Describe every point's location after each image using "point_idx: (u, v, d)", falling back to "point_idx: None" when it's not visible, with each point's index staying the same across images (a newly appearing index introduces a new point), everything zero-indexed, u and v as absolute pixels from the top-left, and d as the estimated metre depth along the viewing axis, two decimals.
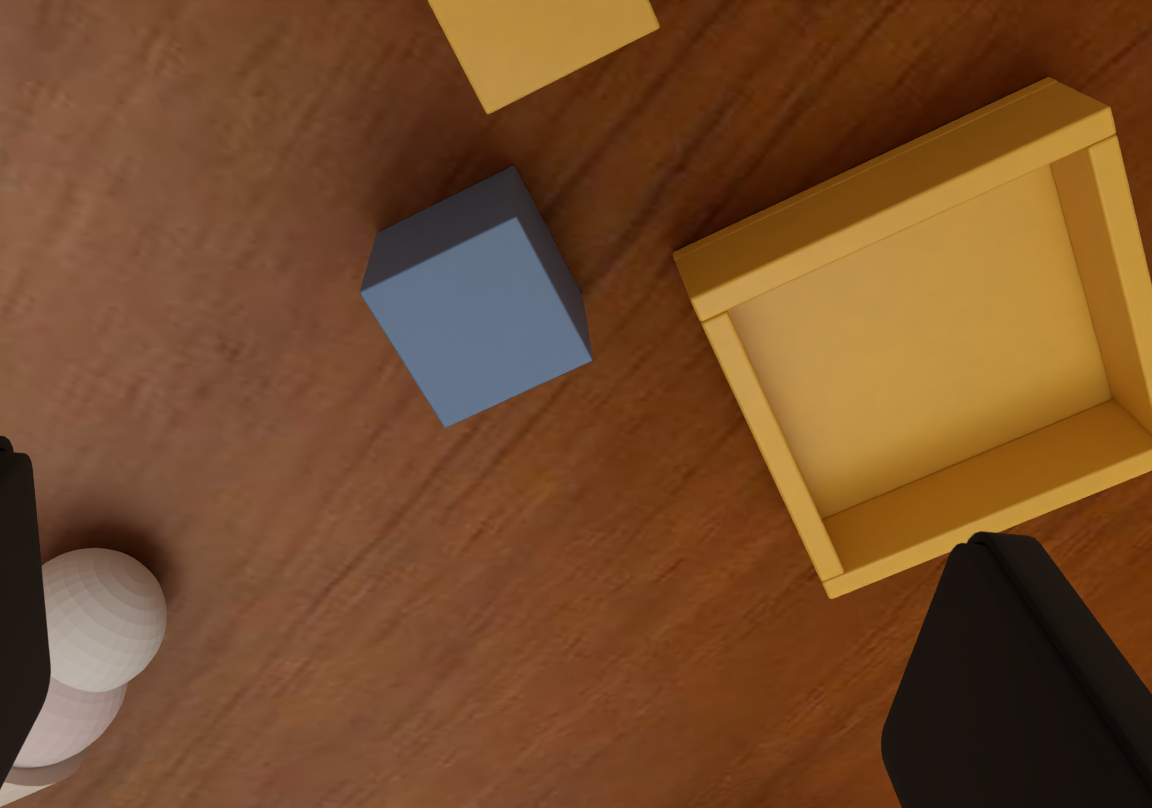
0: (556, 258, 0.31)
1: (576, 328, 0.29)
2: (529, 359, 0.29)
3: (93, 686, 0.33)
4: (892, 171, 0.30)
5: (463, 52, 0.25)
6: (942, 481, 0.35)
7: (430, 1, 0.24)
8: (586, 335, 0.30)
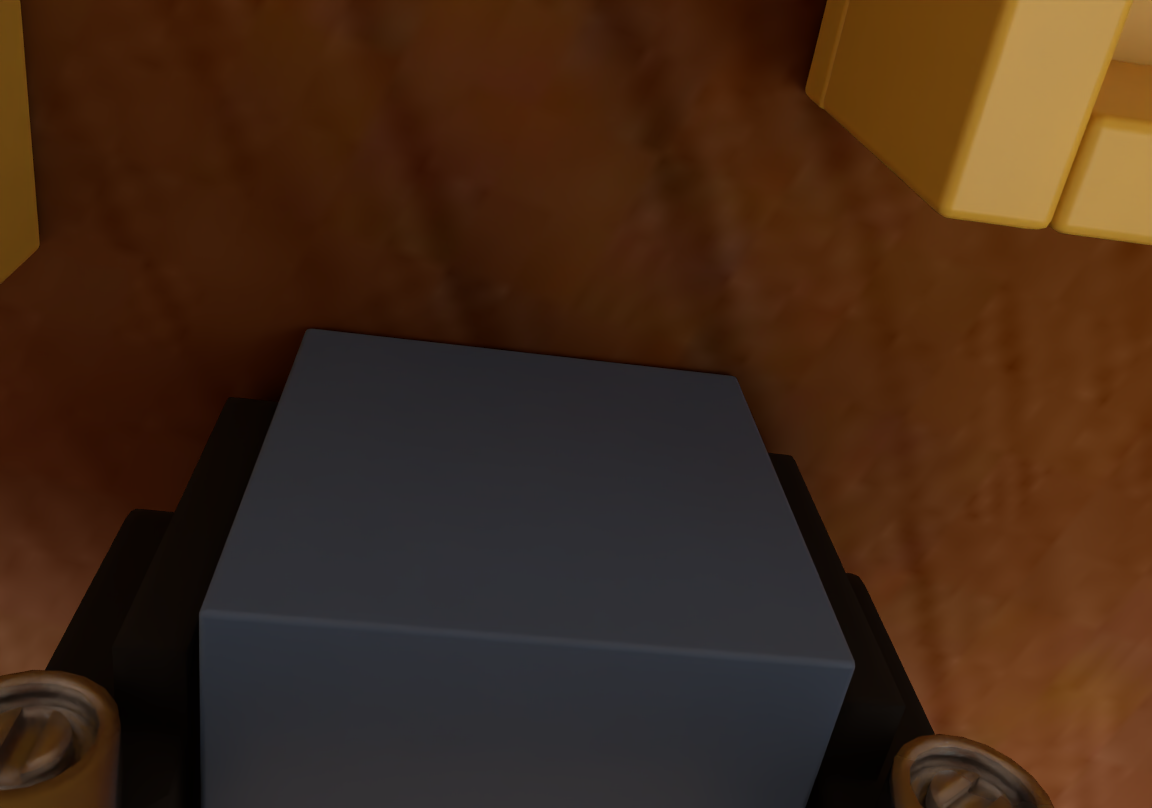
0: (562, 422, 0.10)
1: (714, 647, 0.08)
2: None
3: None
4: None
5: None
6: None
7: None
8: (785, 569, 0.09)
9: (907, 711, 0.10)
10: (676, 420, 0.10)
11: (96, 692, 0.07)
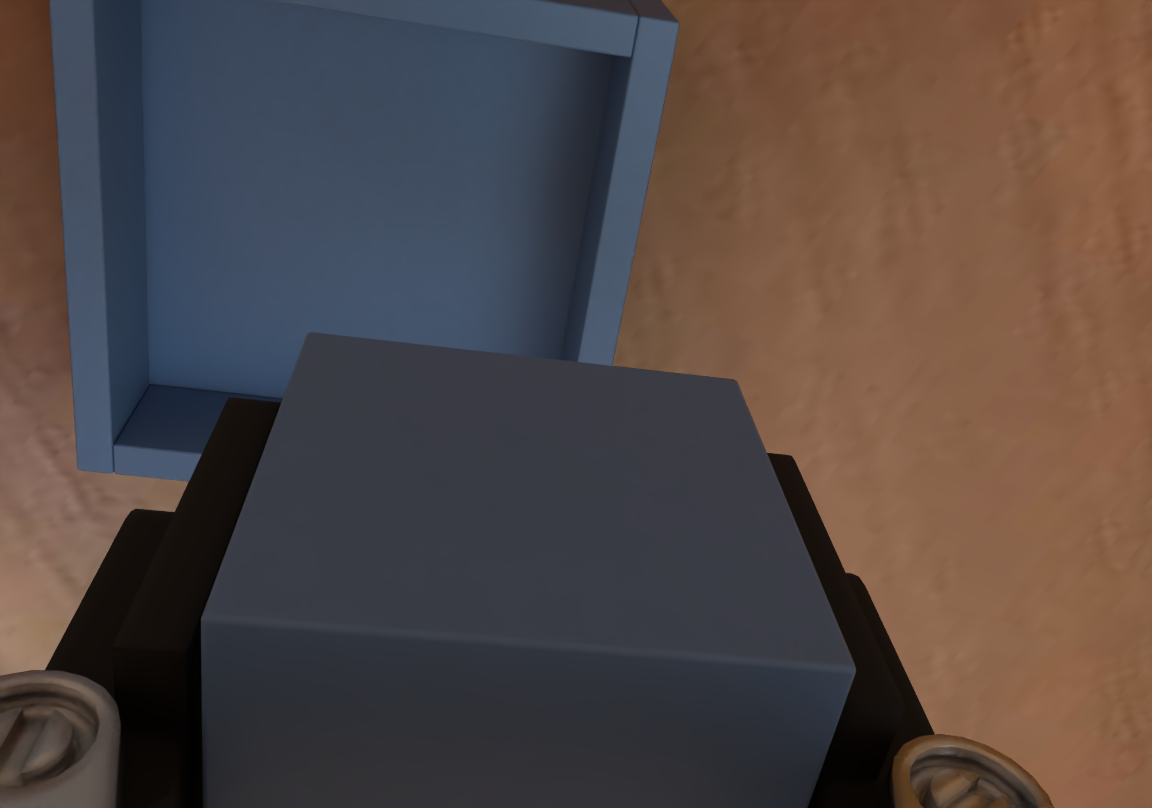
0: (563, 426, 0.10)
1: (715, 651, 0.08)
2: None
3: None
4: None
5: None
6: None
7: None
8: (785, 573, 0.09)
9: (907, 711, 0.10)
10: (677, 424, 0.10)
11: (96, 692, 0.07)
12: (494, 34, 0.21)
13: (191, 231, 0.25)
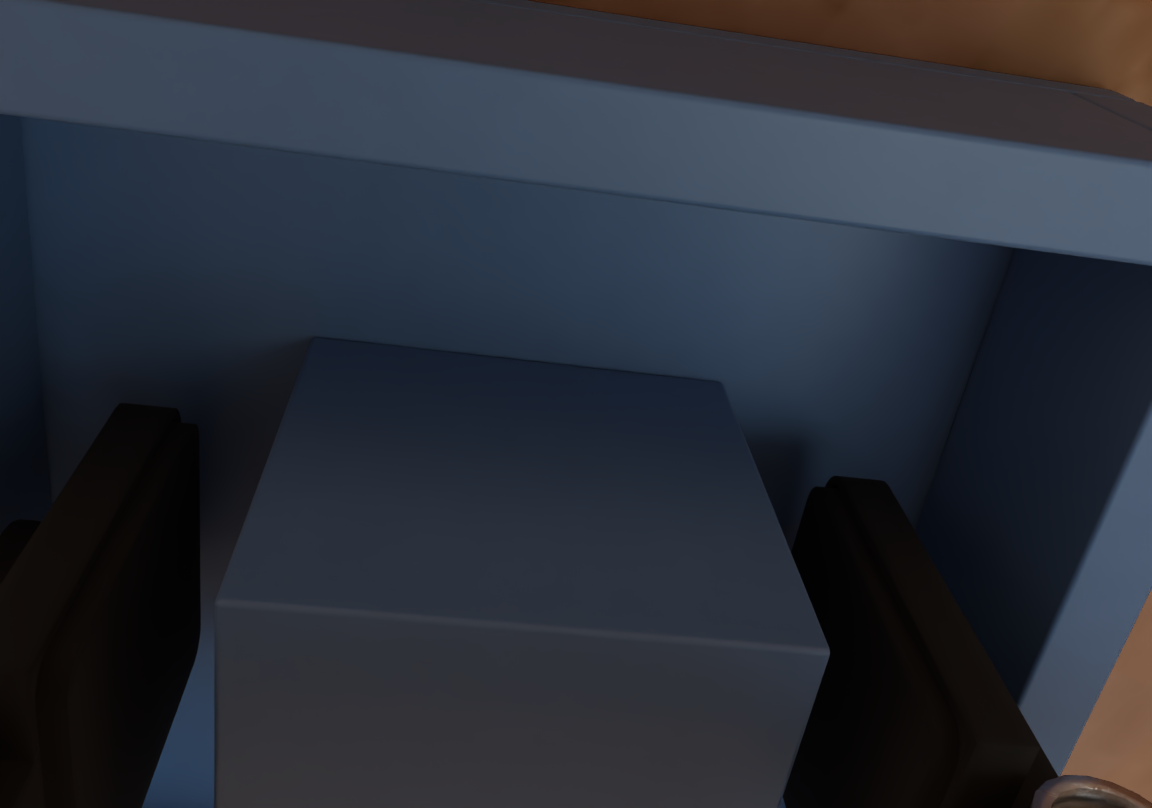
0: (556, 426, 0.11)
1: (697, 635, 0.08)
2: (687, 790, 0.09)
3: None
4: None
5: None
6: None
7: None
8: (765, 564, 0.09)
9: None
10: (665, 424, 0.11)
11: None
12: (885, 226, 0.08)
13: None
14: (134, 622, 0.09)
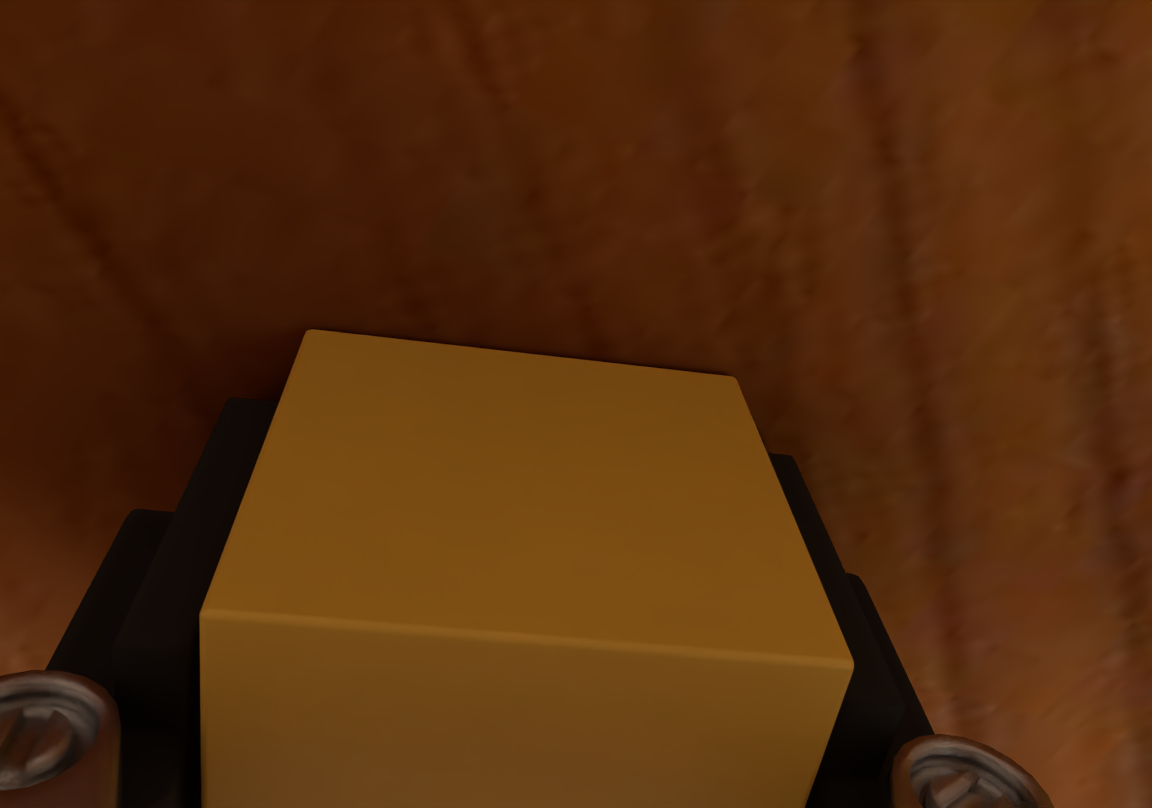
0: None
1: None
2: None
3: None
4: None
5: None
6: None
7: None
8: None
9: (907, 711, 0.10)
10: None
11: (96, 692, 0.07)
12: None
13: None
14: None
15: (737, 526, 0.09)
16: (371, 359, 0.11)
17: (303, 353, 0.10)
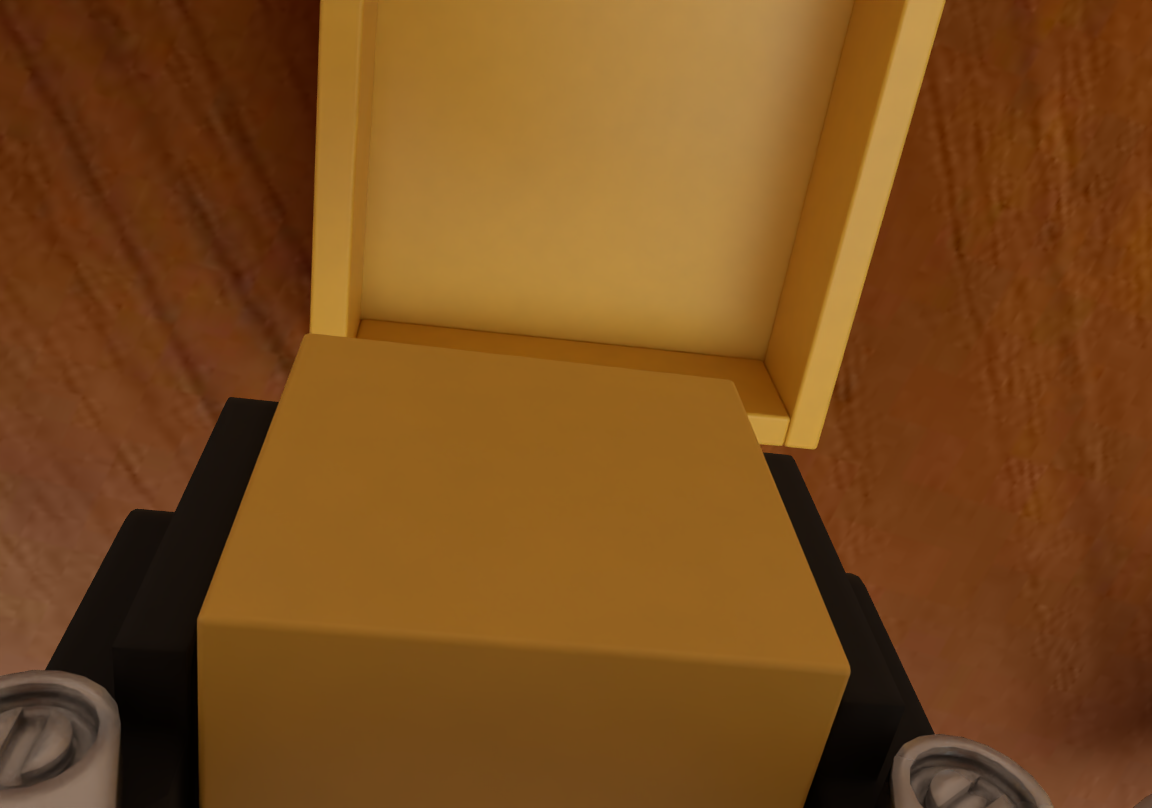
0: None
1: None
2: None
3: None
4: None
5: None
6: (808, 213, 0.25)
7: None
8: None
9: (907, 711, 0.10)
10: None
11: (96, 692, 0.07)
12: None
13: None
14: None
15: (734, 531, 0.09)
16: (370, 363, 0.11)
17: (301, 357, 0.11)
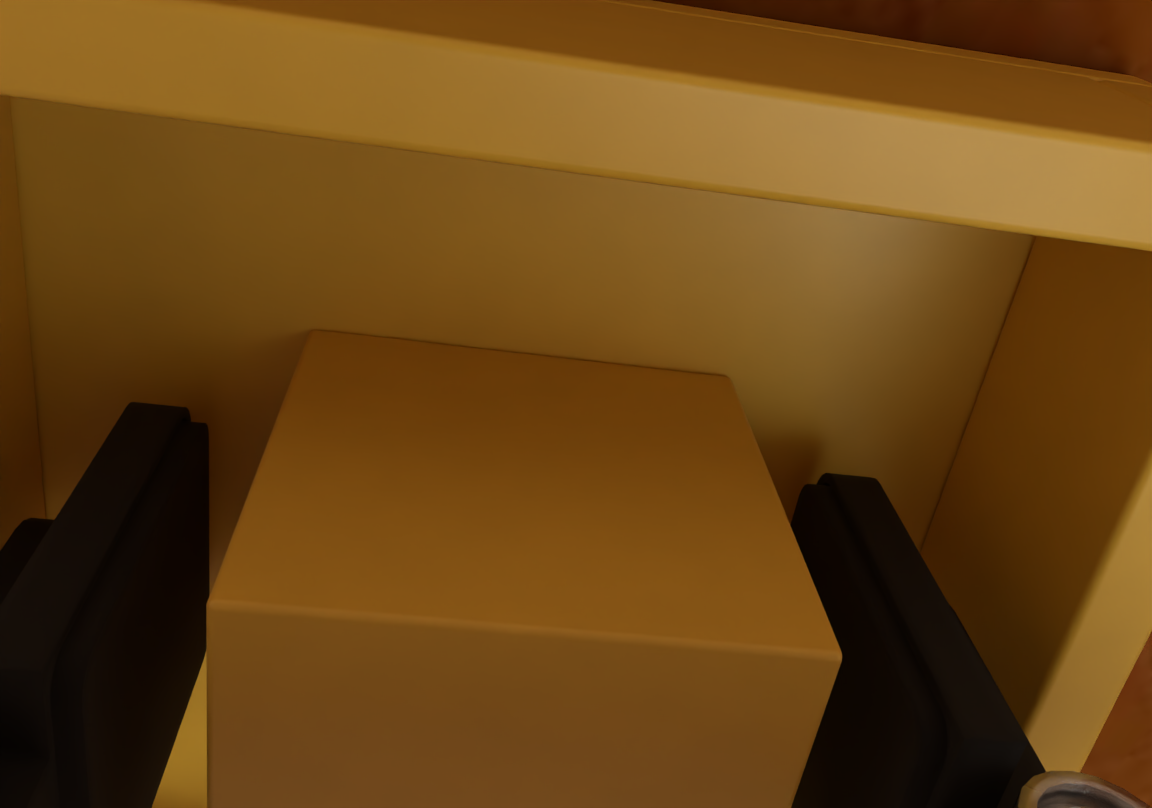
0: None
1: None
2: None
3: None
4: None
5: None
6: None
7: None
8: None
9: None
10: None
11: None
12: None
13: None
14: (146, 620, 0.09)
15: (730, 522, 0.09)
16: (374, 359, 0.11)
17: (307, 353, 0.11)
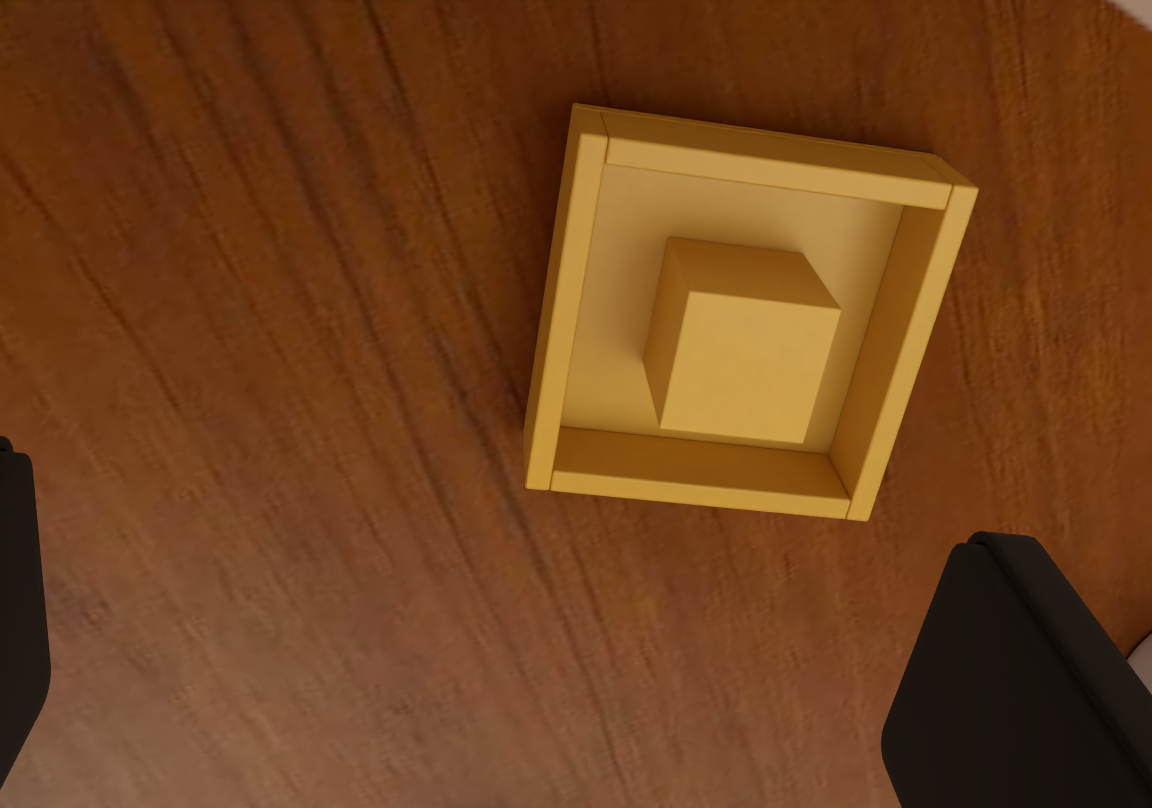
0: None
1: None
2: None
3: None
4: (550, 278, 0.34)
5: (756, 434, 0.33)
6: (864, 359, 0.36)
7: (713, 433, 0.33)
8: None
9: None
10: None
11: None
12: None
13: None
14: None
15: (809, 285, 0.32)
16: (692, 245, 0.34)
17: (672, 243, 0.34)
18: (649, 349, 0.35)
